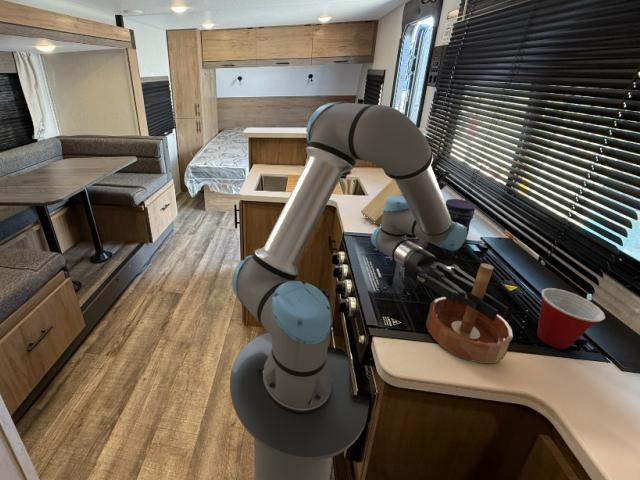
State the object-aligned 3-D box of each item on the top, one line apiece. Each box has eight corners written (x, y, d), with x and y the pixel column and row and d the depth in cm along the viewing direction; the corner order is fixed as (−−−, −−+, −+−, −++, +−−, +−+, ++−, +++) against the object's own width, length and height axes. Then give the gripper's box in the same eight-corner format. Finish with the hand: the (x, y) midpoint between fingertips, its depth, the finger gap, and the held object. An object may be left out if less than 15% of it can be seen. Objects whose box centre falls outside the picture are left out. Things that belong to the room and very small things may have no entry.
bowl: (434, 355, 73) (440, 336, 71) (419, 308, 88) (423, 292, 85) (518, 373, 68) (527, 353, 66) (488, 320, 83) (494, 303, 81)
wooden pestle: (454, 339, 76) (476, 271, 68) (447, 322, 81) (467, 257, 73) (483, 345, 74) (509, 275, 66) (473, 327, 79) (496, 260, 71)
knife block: (441, 218, 142) (457, 152, 130) (374, 227, 135) (385, 158, 123) (422, 208, 152) (436, 147, 140) (359, 217, 145) (368, 152, 133)
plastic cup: (592, 366, 69) (616, 325, 65) (529, 346, 75) (547, 307, 70) (576, 334, 78) (596, 296, 73) (521, 318, 83) (536, 282, 79)
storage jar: (450, 244, 120) (460, 209, 114) (431, 233, 129) (439, 200, 123) (472, 241, 122) (482, 207, 116) (452, 230, 130) (460, 197, 125)
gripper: (433, 265, 93) (519, 318, 72) (391, 275, 88) (470, 335, 68) (439, 243, 90) (530, 293, 69) (396, 253, 86) (479, 308, 65)
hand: (500, 314), depth 68 cm, fingers closed on wooden pestle, 2 cm apart
